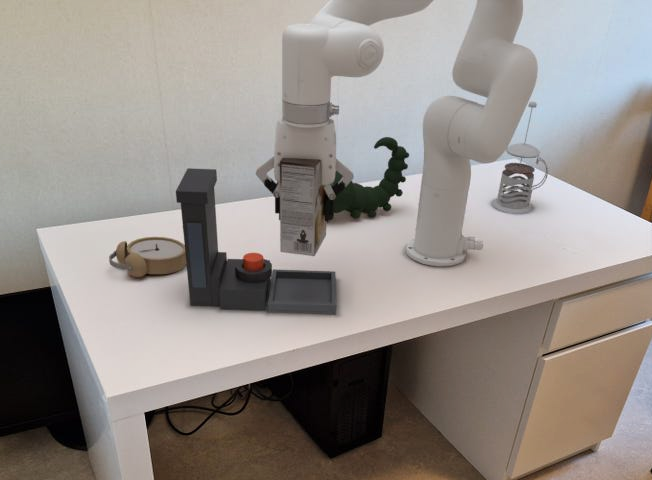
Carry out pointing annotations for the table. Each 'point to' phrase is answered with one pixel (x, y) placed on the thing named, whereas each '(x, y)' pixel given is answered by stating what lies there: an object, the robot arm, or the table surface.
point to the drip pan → (302, 292)
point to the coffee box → (301, 206)
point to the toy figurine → (379, 196)
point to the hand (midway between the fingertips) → (304, 217)
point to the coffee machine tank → (201, 236)
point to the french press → (518, 178)
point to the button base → (244, 286)
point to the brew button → (253, 261)
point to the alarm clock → (150, 256)
